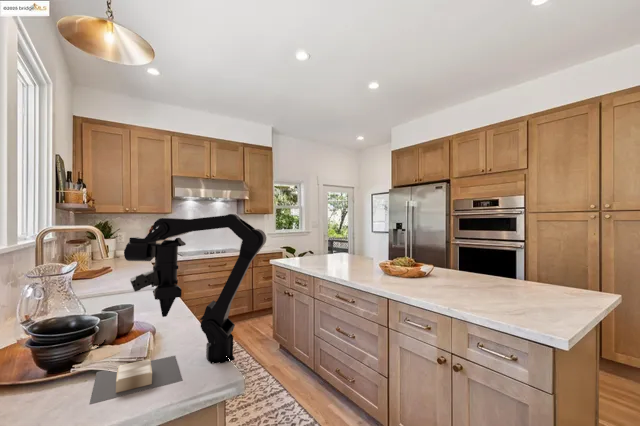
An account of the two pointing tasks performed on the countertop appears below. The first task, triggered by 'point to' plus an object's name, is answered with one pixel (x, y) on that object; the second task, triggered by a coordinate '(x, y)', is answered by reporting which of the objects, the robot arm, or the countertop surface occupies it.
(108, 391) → the mat
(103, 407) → the countertop surface
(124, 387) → the cream rectangular block
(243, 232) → the robot arm
